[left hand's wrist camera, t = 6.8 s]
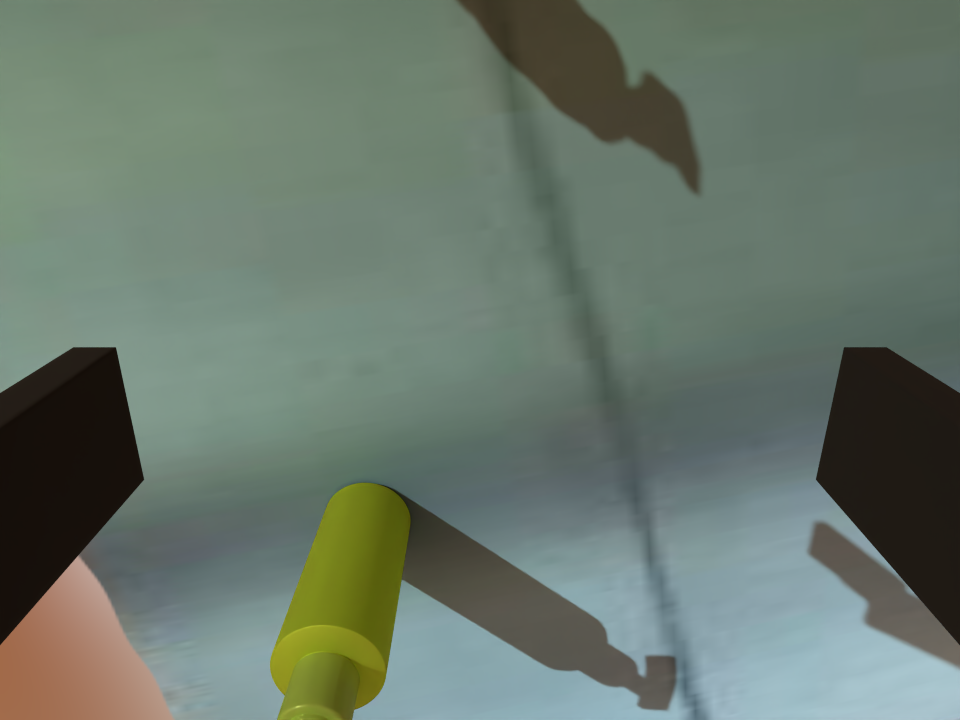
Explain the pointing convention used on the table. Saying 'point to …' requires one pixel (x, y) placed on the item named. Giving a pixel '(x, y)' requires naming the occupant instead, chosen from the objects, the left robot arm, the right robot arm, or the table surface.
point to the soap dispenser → (343, 607)
